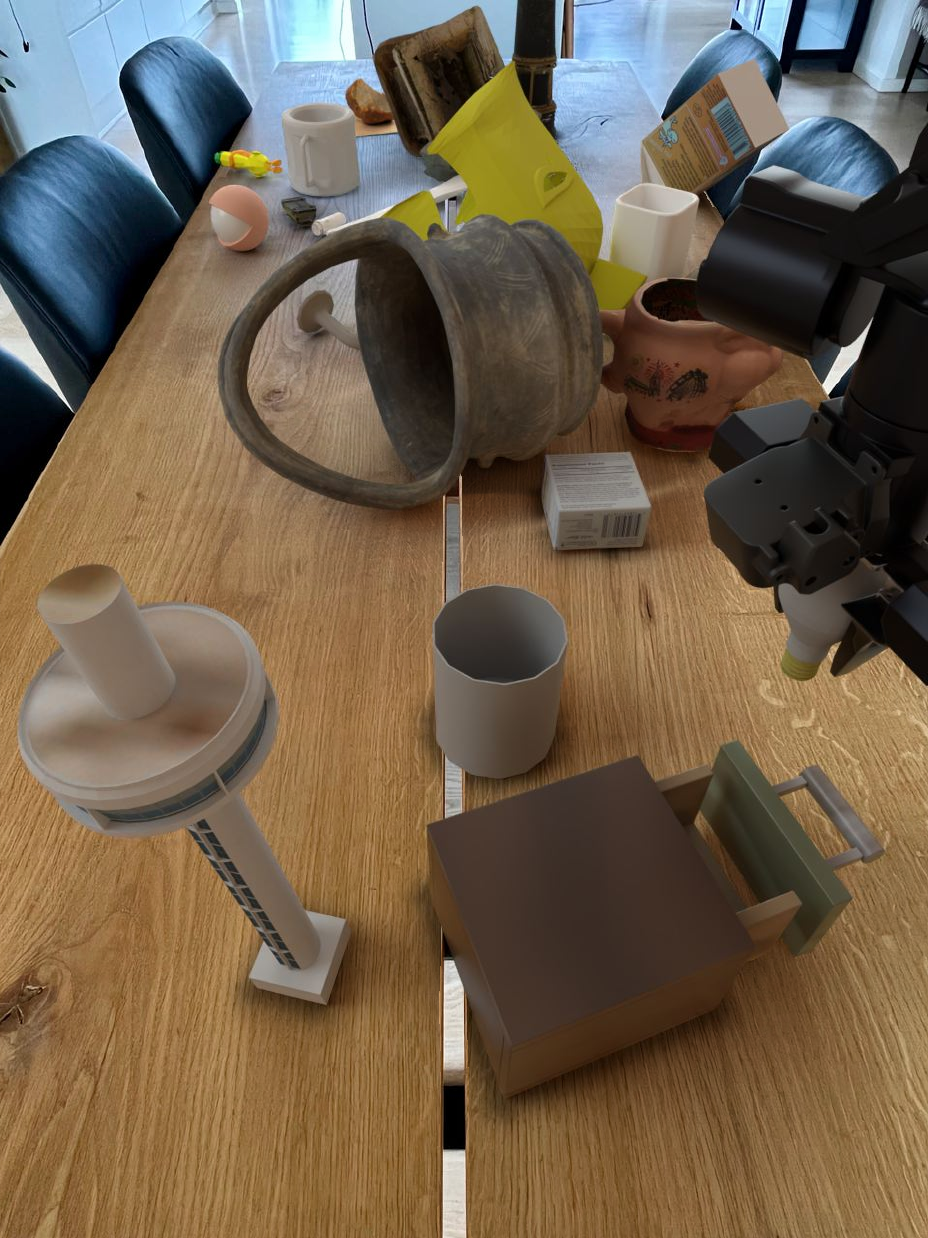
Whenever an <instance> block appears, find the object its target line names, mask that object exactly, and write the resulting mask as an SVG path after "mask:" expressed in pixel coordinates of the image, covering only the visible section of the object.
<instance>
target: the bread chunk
mask: <svg viewBox="0 0 928 1238" xmlns="http://www.w3.org/2000/svg"><path fill="white" fill-rule="evenodd" d="M344 95H345V101H346V105H347V107H348V108H350V109H351V110H352V111H353V112H354V114H355V122H356V125H355V131H356V137H365V136H373V135H382V134H383V135H384V134H392V133H398V131H397V128H396V125H395V121H394V118H393V115H392V112H391V110H390V107H389V104H388V102H387V99H386V96H385V94H384V92H383V91H378V90H376V89H374V88H373V87H372V86H370V85H369V84H368V83H367V82H365V80H364V79H363V78H361V77H359V78H357V79H355V80H354V81H353V82H352V84H350V86H348V87H347V88H346V89H345V94H344Z"/></svg>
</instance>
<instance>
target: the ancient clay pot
mask: <svg viewBox="0 0 928 1238" xmlns="http://www.w3.org/2000/svg"><path fill="white" fill-rule="evenodd" d="M427 236H428V240H426V241H423V240H422V239H421V237H420V236H419V235H417V234H416V233H415V232H414V231H413V230H412V229H411V228H409V227H408V226H407V225H406V224H405V223H402V222H400V221H397V220H395V219H392V218H389V217H387V218H376V219H371V220H367V221H364V222H360V223H357V224H353V225H350V226H347V227H345V228H343V229H341V230H338V231H336V232H334V233H332V234H330V235H327V236H326V235H325V236H323V237H322V238H321V239H319V240H318V241H316V242H314V243H312V244H311V245H310V246H308V247H306V248H305V249H303V250H301V251H300V252H298V253H297V254H296V255H294V256H293V257H292V258H290V259H289V260H288V261H287V262H286V263H284V264H283V265H281V266H280V267H279V268H278V269H277V270H275V271H274V273H272V275H270V277H269V278H268V279H267V280H266V281H265V282H264V283H263V284H262V285H261V286H260V287H258V289H257V291H256V292H255V293H254V295H253V296H252V297H251V299H250V300H249V301H248V303H247V304H246V305H245V306H244V307H243V309H242V310H241V312H240V313H238V316H236V318H235V320H234V321H233V323H232V325H231V326H230V327H229V328H228V331H227V333H226V336H225V337H224V341H223V343H222V346H221V349H220V350H221V351H220V354H219V358H218V361H217V376H216V378H217V389H218V396H219V398H220V402H221V406H222V410H223V413H224V416H225V418H226V421H227V422H228V424H229V426H230V428H231V430H232V431H233V433H234V435H235V436H236V437H237V438H238V440H239V442H240V443H241V444H242V446H243V447H244V448H245V449H246V450H247V451H248V453H250V454H251V455H252V456H253V457H254V458H256V460H257V461H259V462H260V463H261V464H262V465H264V466H265V467H267V468H268V469H270V470H271V471H273V472H274V473H275V474H277V475H279V476H280V477H282V478H284V479H286V480H288V481H290V482H292V483H294V484H296V485H298V486H300V487H302V488H304V489H306V490H309V491H311V492H313V493H316V494H318V495H322V496H324V497H326V498H328V499H332V500H334V501H338V502H340V503H343V504H344V503H345V504H348V505H352V506H358V507H364V508H371V509H376V510H383V511H406V510H410V509H414V508H417V507H419V506H422V505H424V504H429V503H433V502H436V501H438V500H440V499H442V498H443V497H445V496H446V495H447V494H448V492H449V491H450V490H451V488H452V487H453V486H454V485H455V483H456V482H457V481H458V480H459V478H460V476H461V474H462V473H463V471H464V469H465V468H466V464H467V461H468V460H469V459H474V460H476V463H477V465H478V466H479V467H480V468H481V469H489V468H490V467H491V466H492V464H493V462H494V460H495V458H500V457H501V458H502V457H503V458H505V459H509V460H511V461H515V462H522V461H527V460H530V459H532V458H533V457H535V456H537V455H539V454H540V453H541V452H543V451H544V450H545V449H546V448H547V447H548V446H549V445H550V444H552V442H553V441H554V440H555V439H556V437H565V436H569V435H572V434H573V433H574V432H575V431H576V430H578V429H579V428H581V426H582V425H583V424H584V423H585V422H586V420H587V418H588V416H589V415H590V413H591V411H592V410H593V408H594V407H595V404H596V403H597V399H598V395H599V392H600V388H601V384H600V381H601V374H602V367H603V366H604V336H603V335H604V334H603V333H602V323H601V317H600V312H599V307H598V302H597V297H596V293H595V290H594V287H593V285H592V282H591V279H590V276H589V274H588V272H587V270H586V268H585V266H584V264H583V262H582V260H581V258H580V257H579V256H578V254H577V253H576V252H575V251H574V249H573V248H572V247H571V245H570V244H569V243H568V242H567V240H566V239H565V238H564V236H563V235H562V234H561V233H559V232H558V231H557V230H555V229H554V228H553V227H551V226H550V225H548V224H546V223H544V222H542V221H540V220H535V219H524V220H520V221H516V222H515V223H513V224H512V225H509V224H508V223H507V222H505V221H503V220H502V219H500V218H498V217H497V216H495V215H487V214H481V215H478V216H476V217H474V218H472V219H470V220H469V221H468V222H466V223H464V224H463V225H462V226H461V227H460V229H459V230H456V231H449V232H446V231H444V230H443V229H442V227H441V226H440V225H439V224H437V223H432V224H431V225H430V226H429V228H428V231H427ZM355 260H357V262H356V271H355V281H354V312H355V313H354V315H355V323H356V333H357V335H358V340H359V345H360V349H359V351H360V354H361V355H360V356H361V360H362V364H363V366H364V370H365V372H366V375H367V379H368V382H369V385H370V388H371V392H372V394H373V399H374V401H375V404H376V407H377V410H378V413H379V417H380V418H381V422H382V425H383V427H384V429H385V431H386V435H387V436H388V439H389V441H390V443H391V445H392V448H393V449H394V451H395V453H396V455H397V456H398V458H399V459H400V461H401V463H403V464H404V466H405V467H407V469H408V470H409V471H410V472H411V474H413V476H414V480H413V481H411V482H407V483H389V484H388V483H382V482H381V483H380V482H376V481H368V480H364V479H361V478H355V477H353V476H350V475H347V474H344V473H341V472H338V471H336V470H333V469H331V468H328V467H326V466H324V465H321V464H320V463H318V462H316V461H314V460H312V459H310V458H308V457H306V456H304V455H303V454H301V453H299V452H298V451H296V450H295V449H293V448H292V447H290V446H289V445H288V444H286V443H285V442H283V441H282V440H281V439H279V438H278V437H277V435H275V434H273V432H272V431H271V430H270V428H269V427H268V426H267V424H266V423H265V422H264V421H263V419H262V417H261V416H260V414H259V413H258V410H257V409H256V408H255V405H254V403H253V401H252V398H251V396H250V392H249V388H248V374H249V369H250V368H249V367H250V363H251V362H250V361H251V355H252V353H253V349H254V347H255V343H256V339H257V337H258V335H259V333H260V331H261V330H262V327H263V326H264V324H265V323H266V321H267V319H268V318H269V317H270V316H271V315H272V313H273V312H274V311H275V310H276V309H277V308H278V306H279V305H281V303H283V302H284V300H286V298H287V297H289V295H291V293H293V292H294V291H295V290H297V289H298V288H299V287H300V286H302V285H303V284H304V283H307V281H309V280H310V279H312V278H314V277H316V276H318V275H319V274H321V273H323V272H326V271H327V270H328V269H331V268H333V267H336V266H339V265H342V264H345V263H348V262H352V261H355Z"/></svg>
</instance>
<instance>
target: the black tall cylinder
mask: <svg viewBox="0 0 928 1238" xmlns="http://www.w3.org/2000/svg"><path fill="white" fill-rule="evenodd" d="M556 1H557V0H516V16H515V28H514V29H515V30H514V41H513V43H514V45H513V52H512V56H511V61H512V60H513V61H514V62H515V70H516V73H517V77H518V80H519V83H520V85H521V88H522V90H523V93H524V95H525V97H526V99H527V101H528V102H529V104H530V106H531V108H532V109H533V110H535V111H537V112H538V113H540V114H542V116H541V120H540V121H541V122H542V123H543V125H544V126H545V127H546V129H547V130H548V132H549V133H550V134H551V136H552V137H553V138H554V139H555V138H556V137H557V128H556V127H555V121H556V110H557V109H558V105H557V103H556V101H555V100H554V99H553V93H554V91H553V90H554V89H553V84H554V69H555V68H556V67H557V66H558V63H557V61H558V58H557V49H556V12H557V11H556V10H557V9H556V7H557V5H556V4H557V2H556Z"/></svg>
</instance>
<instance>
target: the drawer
mask: <svg viewBox="0 0 928 1238" xmlns="http://www.w3.org/2000/svg"><path fill="white" fill-rule="evenodd" d="M713 761H714V762H713V764H712V767H710V766H709V764H707V763H704V764H701V765H698V766H695V767H692V768H689V769H686V770H683V771H680V772H678V773H674V774H671V775H668V776H666V777H662V778H660V779H657V780H654V781H655V783H656V785H657V786H658V788H659V790H660V791H661V793H662V794H663V796H664V798H665V799H666V801H667V803H668V804H669V806H670V807H671V809H672V811H673V812H674V814H675V815H676V817H677V819H678V820H679V822H680V824H681V825H682V827H683V828H684V830H685V832H686V833H687V835H688V836H689V838H690V840H691V841H692V843H693V845H694V846H695V848H696V849H697V851H698V853H699V854H700V856H701V857H702V859H703V861H704V862H705V864H706V866H707V867H708V869H709V870H710V872H711V874H712V875H713V877H714V879H715V880H716V882H717V883H718V885H719V887H720V888H721V890H722V891H723V893H724V895H725V896H726V898H727V900H728V901H729V903H730V904H731V906H732V908H733V909H734V911H735V912H736V914H737V916H738V917H739V919H740V921H741V922H742V924H743V925H744V927H745V929H746V930H747V932H748V933H749V935H750V937H751V938H752V940H753V942H754V943H755V945H756V948H755V950H754V951H753V953H751V955H750V957H749V958H748V960H747V961H746V963H749V962H751V961H754V960H756V959H758V958H760V957H763V956H765V955H767V954H769V953H770V952H771V950H772V949H773V947H774V946H775V945H776V943H777V942H778V940H779V939H780V937H781V939H782V940H783V942H784V943H785V945H786V947H787V948H788V950H789V951H790V953H791V954H792V956H793V957H794V958H795V959H797V958H799V957H802V956H804V955H807V954H810V953H812V952H813V951H814V950H815V948H816V947H817V946H818V944H819V943H820V942H821V940H822V939H823V938H824V937H825V935H826V934H827V933H828V931H829V930H830V929H831V927H833V925H834V924H835V923H836V921H837V920H838V919H839V918H840V917H841V915H842V914H843V912H844V911H845V909H846V908H847V907H848V905H849V904H850V903H851V902H852V901H853V900H854V897H853V895H852V893H850V891H849V890H848V888H847V887H846V886H845V884H844V883H843V882H842V880H841V879H840V877H839V876H838V875H837V874H836V872H835V871H837V870H840V869H843V868H846V867H848V866H850V865H853V864H855V863H856V864H857V863H858V862H860V861H861V863H862V864H864V865H868V864H871V863H874V862H875V861H876V860H879V859H880V858H881V857H882V856H883V855H885V853H886V849H885V847H884V846H883V845H882V844H881V843H880V841H879V840H878V838H876V836H875V834H873V833H872V831H871V830H870V829H869V827H868V825H867V824H865V822H864V821H863V820H862V819H861V817H860V816H859V815H858V814H857V812H856V811H855V810H854V808H853V807H852V806H851V804H850V803H849V802H848V801H847V800H846V798H845V797H844V796H843V795H842V793H841V792H840V790H838V788H837V787H836V785H835V784H834V783H833V781H832V780H831V779H830V778H829V777H828V776H827V774H826V773H825V772H824V770H823V769H822V767H821V766H820V765H819V764H812V765H810V766H808V767H806V768H804V769H803V770H801V772H800V773H799V774H798V776H796V777H792V778H790V779H787V780H785V781H782V782H779V783H777V784H774V785H772V784H771V783H770V781H769V779H767V777H766V776H765V774H764V773H763V772H762V770H761V769H760V768H759V766H758V765H757V763H756V762H755V760H754V759H753V758H752V756H751V755H750V753H749V752H748V751H747V749H746V748H745V747H744V746H743V744H742V743H741V741H740V740H739V739H735V740H731V741H729V742H726V743H722V744H721V745H719V748H718V751H717V754H716V756H715V758H714V760H713ZM803 789H806V790H807V792H808V793H809V794H810V795H811V797H812V799H814V801H815V803H816V804H817V805H818V806H819V808H821V810H822V812H824V814H825V815H826V817H827V818H828V820H829V821H830V822H831V823H832V824H833V826H834V828H836V830H837V831H838V833H839V834H840V835H841V836H842V838H843V839H844V841H846V843H847V844H848V845H849V847H850V849H848V850H845V851H842V852H839V853H837V854H836V855H833V856H830V857H828V858H825V857H824V856H823V854H822V852H821V851H820V850H819V849H818V847H817V846H816V844H815V843H814V842H813V840H812V839H811V837H810V836H809V835H808V833H807V832H806V831H805V829H804V827H802V825H801V824H800V822H799V821H798V820H797V819H796V817H795V815H794V814H793V813H792V811H791V810H790V808H788V805H786V803H785V802H784V801H783V799H782V798H781V797H784V796H786V795H790V794H792V793H794V792H798V791H801V790H803ZM699 811H700V813H701V815H702V816H703V818H704V819H705V821H706V823H707V824H708V825H709V827H710V829H711V830H712V831H713V833H714V835H715V837H716V838H717V840H718V841H719V843H720V844H721V846H722V847H723V849H724V850H725V852H726V853H727V855H728V857H729V858H730V859H731V861H732V863H733V864H734V866H735V867H736V869H737V870H738V872H739V874H740V875H741V877H742V878H743V880H744V881H745V882H746V885H747V886H748V887H749V889H750V891H751V892H752V894H753V895H754V897H755V898H756V900H757V902H758V904H755V905H752V906H750V907H748V906H747V905H746V903H745V902H744V900H743V898H742V896H741V895H740V893H739V891H738V890H737V889H736V887H735V886H734V884H733V882H732V880H731V879H730V878H729V876H728V874H727V872H725V870H724V869H723V867H722V865H721V864H720V861H718V859H717V857H716V856H715V854H714V852H713V851H712V849H711V848H710V846H709V845H708V843H707V841H706V840H705V838H704V836H703V835H702V833H701V832H700V830H699V829H698V827H697V825H696V824H695V822H696V819H697V817H698V814H699Z"/></svg>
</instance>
